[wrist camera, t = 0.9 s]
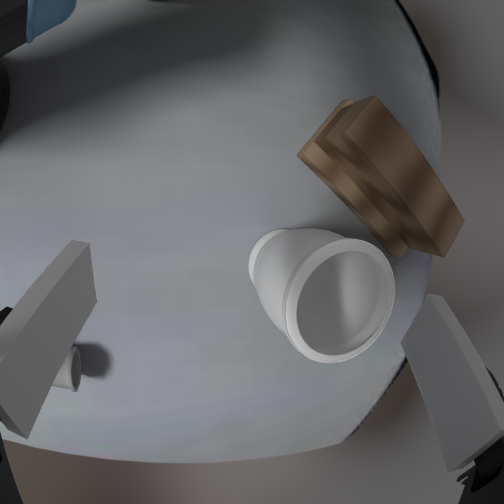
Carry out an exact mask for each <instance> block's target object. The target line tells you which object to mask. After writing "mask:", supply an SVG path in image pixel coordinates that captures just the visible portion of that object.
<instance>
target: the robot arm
mask: <svg viewBox="0 0 504 504" xmlns="http://www.w3.org/2000/svg"><path fill="white" fill-rule="evenodd" d="M76 2H77V0H0V58H1V57H2V56H4V55H6V54H7V53H9V52H11V51H12V50H14V49H16V48H17V47H19V46H21V45H23V44H24V43H26V42H27V43H30V42H32V41H33V40H34V38H35V37H37V36H39V35H40V34H42V33H44V32H46V31H48V30H49V29H51V28H53V27H55V26H57V25H59V24H61V23H62V22H64V21H65V20H67V19H68V18H69V17H70V15H71V14H72V13H73V11H74V9H75V6H76ZM9 92H10V88H9V80H8V76H7V73H6V71H5V69H4V67H3V66H2V65H1V64H0V129H1V126H2V124H3V121H4V118H5V115H6V112H7V108H8V103H9ZM96 303H97V299H96V292H95V285H94V278H93V270H92V262H91V253H90V243H86V242H80V241H74V240H72V241H71V242H70V243H69V244H68V245H67V246H66V247H65V248H64V250H63V251H62V252H61V253H60V254H59V255H58V256H57V257H56V258H55V259H54V261H53V262H52V263H51V264H50V265H49V266H48V267H47V268H46V270H45V271H44V272H43V273H42V274H41V275H40V277H39V278H38V279H37V280H36V281H35V282H34V284H33V285H32V286H31V287H30V288H29V290H28V291H27V292H26V293H25V295H24V296H23V297H22V298H21V299H20V301H19V302H18V303H17V305H16V306H15V307H14V308H10V307H6V308H4V309H3V310H1V311H0V421H1V422H2V423H3V424H4V425H5V426H6V428H7V429H8V430H10V431H12V432H14V433H16V434H18V435H20V436H22V437H24V438H26V439H28V437H29V435H30V432H31V430H32V427H33V425H34V423H35V421H36V418H37V416H38V414H39V412H40V409H41V407H42V405H43V403H44V401H45V399H46V396H47V394H48V392H49V390H50V388H51V386H52V384H53V382H54V380H55V378H56V376H57V374H58V372H59V370H60V368H61V366H62V364H63V362H64V360H65V358H66V356H67V354H68V353H69V351H70V349H71V347H72V345H73V343H74V341H75V340H76V338H77V336H78V334H79V332H80V331H81V329H82V327H83V325H84V323H85V322H86V320H87V318H88V316H89V315H90V313H91V311H92V310H93V308H94V306H95V304H96ZM401 345H402V347H403V349H404V352H405V354H406V357H407V359H408V361H409V364H410V366H411V369H412V371H413V374H414V376H415V379H416V381H417V384H418V386H419V389H420V392H421V394H422V397H423V400H424V402H425V405H426V408H427V411H428V413H429V416H430V419H431V421H432V425H433V427H434V430H435V433H436V436H437V439H438V442H439V445H440V449H441V452H442V455H443V458H444V462H445V465H446V468H447V472H448V473H449V472H452V471H455V470H458V469H462V468H464V467H465V466H466V465H468V464H469V463H470V462H472V461H473V460H474V462H475V465H474V466H473V467H472V468H470V469H469V470H467V471H466V472H465V473H463V474H462V475H460V476H459V477H458V479H457V482H459V481H461V480H462V479H463V478H465V477H467V476H468V478H467V479H465V480H464V481H463V482H462V484H463V485H465V487H464V490H463V493H462V496H461V498H460V501H459V503H458V504H504V396H503V393H502V391H501V389H500V388H498V386H499V385H498V383H497V381H496V379H495V378H494V376H493V374H492V373H491V372H490V371H489V370H488V369H487V368H486V367H485V366H484V364H483V362H482V360H481V358H480V357H479V355H478V354H477V352H476V350H475V348H474V346H473V345H472V343H471V342H470V340H469V338H468V336H467V335H466V333H465V331H464V330H463V328H462V326H461V325H460V323H459V322H458V320H457V319H456V317H455V315H454V314H453V312H452V311H451V309H450V308H449V306H448V305H447V303H446V302H445V300H444V299H443V297H442V296H441V295H434V294H428V295H427V297H426V298H425V300H424V302H423V304H422V306H421V308H420V310H419V311H418V313H417V315H416V317H415V319H414V320H413V322H412V324H411V326H410V327H409V329H408V331H407V332H406V334H405V336H404V337H403V339H402V341H401ZM0 504H23V502H22V499H21V497H20V494H19V491H18V489H17V486H16V483H15V480H14V477H13V474H12V471H11V469H10V465H9V462H8V459H7V455H6V452H5V448H4V444H3V441H2V437H1V433H0Z"/></svg>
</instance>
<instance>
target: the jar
mask: <svg viewBox="0 0 504 504" xmlns="http://www.w3.org/2000/svg"><path fill="white" fill-rule="evenodd" d="M248 266H249V275H250V278H251V280H252V283H253V284H254V286H255V288H256V291H257V293H258V296H259V299H260V302H261V304H262V306H263V308H264V310H265V312H266V313H267V315H268V316H269V318H270V319H271V320H272V322H273V323H274V324H275V325H276V326H277V327H278V328H279V329H280V330H281V331H282V332H283V333H285V334H286V335H287V337H288V339H289V340H290V342H291V343H292V345H293V346H294V347H295V348H296V349H297V350H298V351H299V352H300V353H301V354H302V355H304V356H305V357H307V358H309V359H311V360H313V361H316V362H320V363H338V362H342V361H345V360H348V359H351V358H353V357H355V356H357V355H358V354H360V353H361V352H363V351H364V350H366V349H367V348H368V347H369V346H370V345H371V344H372V343H373V342H374V341H375V340H376V339H377V338H378V336H379V335H380V334H381V332H382V331H383V329H384V327H385V326H386V324H387V322H388V320H389V317H390V315H391V312H392V308H393V304H394V298H395V280H394V275H393V271H392V268H391V266H390V263H389V262H388V260H387V258H386V257H385V255H384V254H383V253H382V252H381V251H380V250H379V249H378V248H377V247H375V246H374V245H372V244H371V243H369V242H366V241H363V240H359V239H354V238H345V237H344V236H341V235H339V234H337V233H334V232H331V231H328V230H323V229H317V228H303V229H292V230H289V229H278V230H274V231H271V232H269V233H267V234H266V235H264V236H263V237H262V238H260V239H259V241H258V242H257V243H256V244H255V246H254V247H253V249H252V251H251V254H250V258H249V265H248Z"/></svg>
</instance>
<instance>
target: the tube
mask: <svg viewBox="0 0 504 504" xmlns="http://www.w3.org/2000/svg"><path fill="white" fill-rule="evenodd" d="M81 371H82V368H81V358H80V352H79V350H78V348H77V347H76V346H73V347H72V348H71V349H70V351H69V353H68V354H67V356H66V358H65V360H64V362H63V364H62V366H61V368H60V370H59V372H58V374H57V376H56V378H55V380H54V382H53V384H52V386H55V387H61V388H67V389H71V390H72V391H73V392H77V390H78V387H79V384H80V380H81Z"/></svg>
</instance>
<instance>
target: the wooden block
mask: <svg viewBox="0 0 504 504" xmlns="http://www.w3.org/2000/svg"><path fill="white" fill-rule="evenodd" d="M297 156H298V157H299V158H300V159H301V160H302V161H303V162H304V163H305V164H306V165H307V166H308V167H309V168H310V169H311V170H312V171H313V172H314V173H315V174H316V175H317V176H318V177H319V178H320V179H321V180H322V181H323V182H324V183H325V184H326V185H327V186H328V187H329V188H330V189H331V190H332V191H333V192H334V193H335V194H336V195H337V196H338V197H339V198H340V199H341V200H342V201H343V202H344V203H345V204H346V205H347V206H348V207H349V208H350V210H351V211H352V212H353V213H354V214H355V215H356V216H357V217H358V218H359V219H360V220H361V221H362V222H363V223H364V225H365V226H366V227H367V228H368V229H369V230H370V231H371V232H372V233H373V235H374V236H375V237H376V238H377V239H378V240H379V241H380V242H381V243H382V245H383V246H384V247H385V248H386V249H387V250H388V251H389V253H390V254H391V255H392V256H394V257H397V258H400V259H401V258H402V257H403V255H404V254H405V252H406V251H407V249H408V248H412V249H416V250H419V251H423V252H427V253H430V254H434V255H437V256H441V257H445V255H446V253H447V252H448V250H449V248H450V246H451V244H452V243H453V241H454V239H455V237H456V236H457V234H458V232H459V230H460V228H461V226H462V224H463V223H464V219H463V217H462V215H461V214H460V212H459V211H458V209H457V207H456V205H455V204H454V202H453V200H452V199H451V197H450V195H449V194H448V192H447V191H446V189H445V187H444V186H443V184H442V183H441V181H440V180H439V178H438V177H437V175H436V174H435V172H434V171H433V169H432V168H431V166H430V165H429V163H428V162H427V160H426V159H425V157H424V156H423V155H422V153H421V152H420V150H419V149H418V148H417V146H416V145H415V144H414V142H413V141H412V140H411V138H410V137H409V136H408V134H407V133H406V132H405V130H404V129H403V128H402V127H401V125H400V124H399V123H398V122H397V120H396V119H395V118H394V117H393V115H392V114H391V113H390V112H389V111H388V109H387V108H386V107H385V106H384V105H383V103H382V102H381V101H380V100H379V99H378V98H377V96H376V95H374V96H371V97H369V98H366V99H363V100H361V101H358V102H356V103H354V102H353V101H352V100H351V99H350V98H349V99H347V100H345V101H342V102H341V103H340V104H339V106H338V107H337V108H336V109H335V110H334V111H333V113H332V114H331V115H330V116H329V117H328V118H327V120H326V121H325V122H324V123H323V124H322V125H321V127H320V128H319V129H318V130H317V131H316V133H315V134H314V135H313V136H312V137H311V139H310V140H309V141H308V142H307V143H306V144H305V146H304V147H303V148H302V149H301V150H300V152H299V153H298V154H297Z"/></svg>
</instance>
